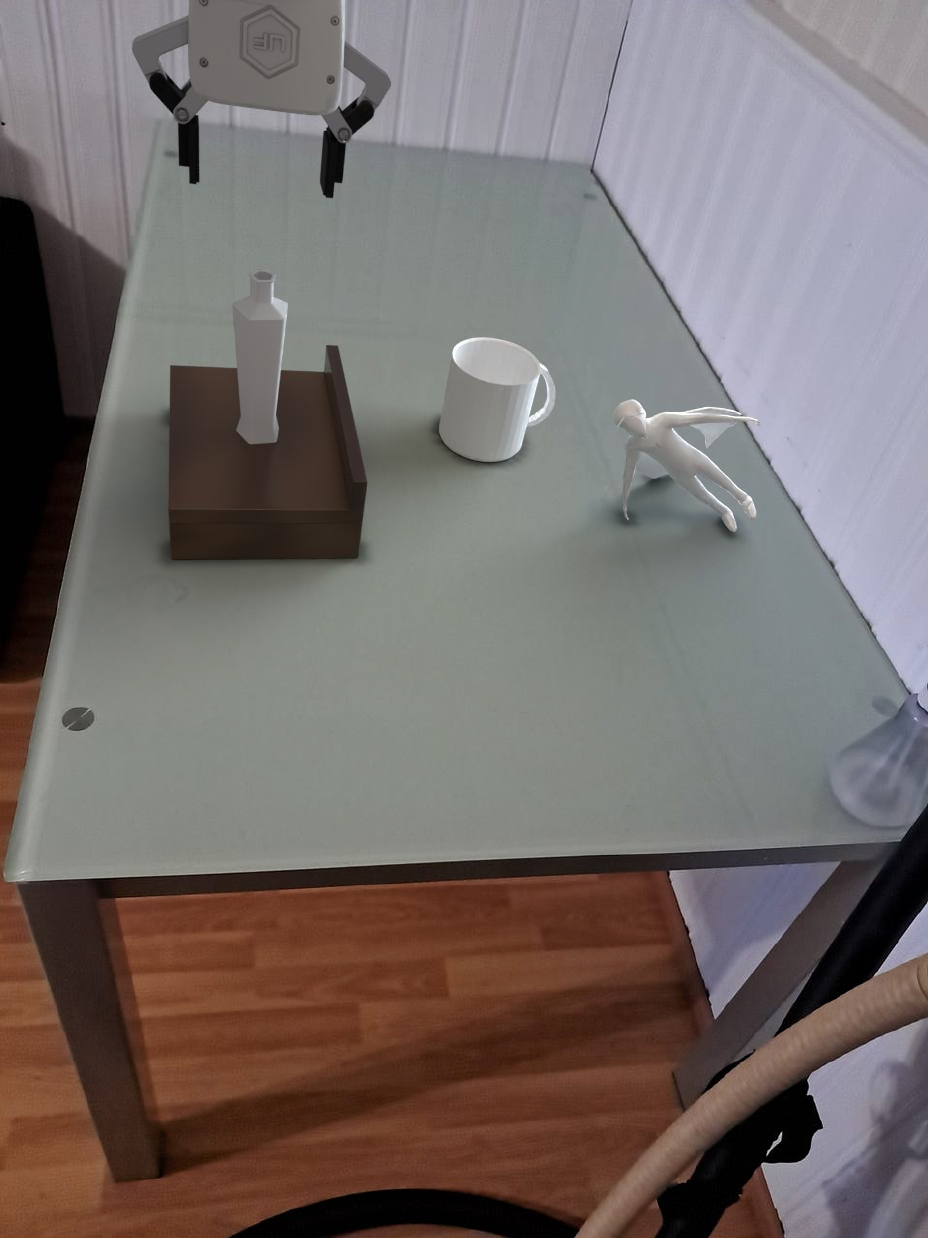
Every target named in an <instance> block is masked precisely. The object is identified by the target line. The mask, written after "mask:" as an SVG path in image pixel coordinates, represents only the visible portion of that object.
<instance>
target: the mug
mask: <svg viewBox="0 0 928 1238" xmlns="http://www.w3.org/2000/svg"><path fill="white" fill-rule="evenodd" d="M540 375H541V376H542V377H543V379H544V380H545V385H546V394H547V396H546V400H545V402H544V406H543V407H542V408H541V409H539V410H538V411H536V412H535V413H534V414H532V415H530V414H531V411H532V407H533V403H534V399H535V395H536V392H537V387H538V384H539V380H540ZM555 404H556V386H555V382H554V380H553V378H552V376H551V373H550V372H549V370H548V368H547V367H546V366H545V365H544V364H542V363H540V361H539V359H538V358H537V357H536V356H535V354H533V353H532V352H530V351H529V350H528V349H526V348H525V347H523V346H521V345H519V344H517V343H515V342H511V341H508V340H505V339H500V338H496V337H495V338H494V337H483V336H482V337H481V336H480V337H472V338H467V339H464V340H462V341H460V342H459V343H457V344H456V345H455V346H454V347H453V350H452V352H451V359H450V365H449V369H448V373H447V381H446V386H445V392H444V397H443V402H442V408H441V414H440V420H439V425H438V433H439V435H440V438H441V441H442V442H443V443H444V445H445V446H446V447H447V448H448V449H449V450H451V451H452V452H454V453H455V454H457V455H460V456H461V457H463V458H466V459H468V460H473V461H476V462H484V463H496V462H502V461H505V460H506V461H507V460H509V459H511V458H512V457H514V456H515V455H516V454H517V453H519V451H520V450H521V448H522V447H523V442H524V438H525V435H526V430H527V428H529V427H530V428H532V427H535V426H536V425H538V424H540V423H542V422H543V421H545V419H546V418H548V417H550V415H551V414H552V412H553V411H552V410H553V408H554V407H555Z"/></svg>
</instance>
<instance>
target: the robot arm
mask: <svg viewBox="0 0 928 1238" xmlns="http://www.w3.org/2000/svg"><path fill="white" fill-rule="evenodd" d="M345 36H346V0H188V15H186V16H183V17H181V18H178V19H176V20H173V21H172V22H171V21H170V22H169V23H166V24H164V25H161V26H160V27H156V28H154V29H152V30H150V31H147V32H144V33H142V34H141V35H137V36H135V38H133V40H132V45H131V51H132V54H133V57H134V58H135V60H136V62H137V64H138V66H139V68H140V70H141V72H142V74H143V76H144V77H145V79H146V81H147V83H148V85H149V89H150V90H151V93H153V94H154V95H155V96H156V97H157V98H158V100H159V101H160V102H161V103H162V104H163V105H164V106H165V107H166V109H167V110H168V111H169V112H170V113H171V114H172V116H173V119H174V120H175V121H176V122H177V141H178V143H177V145H178V146H177V147H178V166H179V167H185V168H188V183H189V185H197V184H198V183H200V118H199V114H198V113H199V111H200V110H201V109H203V107H204V106H205V105H206V104H207V103H208V102H211V103H214V104H219V105H225V106H232V107H240V108H245V109H255V110H263V111H270V112H278V113H286V114H295V115H305V116H314V117H315V116H321V117H322V119H323V121H325V123H326V125H327V127H325V130H323V132H322V144H321V145H322V146H321V156H320V157H321V158H320V159H321V160H320V173H319V184H320V188H321V192H322V195H323V196H325V198H326V199H334V197H335V196H334V195H335V184H343V181H344V170H345V161H346V149H347V143H349V142H350V141H351V140H352V138H353V135H355V134H356V133H357V132H358V131H359V130H361V129H362V128H363V127H364V126H365V125H366V124H368V123H369V122H370V121H371V120H372V119H373V118H374V116H375V112H376V110H377V109H378V107H379V106H380V105H381V103H382V102H383V100H384V99H385V97H386V96H387V94H388V92H389V90H390V89H391V87H392V82H391V79H390V77H389V75H388V73H387V72H386V71H385V70H383V69H382V68H381V67H380V66H378V65H377V64H376V63H374V62H373V61H372V60H371V59H369V58H368V57H367V56H365V55H364V54H363V53H361V51H359V50H358V49H356V48H355V47H354V46H353V45H351V43H348V42H347V41H346V40H345V38H346V37H345ZM186 45H187V63H188V75H189V78H188V79H187V81H186V82H185V83H184V84H183V85H182V86H181V87H179V86H178V85H177V84H176V82H175V81H174V80H173V79H172V78H171V76H169V74H168V73H167V72H166V71H165V70H164V67H163V65H162V62H161V60H160V57H161V56H162V55H164V54H167V53H169V52H171V51H174V50H176V49H180V48H181V47H184V46H186ZM344 69H346V70H347V71H349V72H350V73H351V74H353V75H354V76H355V77H356V78H358V79H359V80H361V81H362V82H363V83H364V87H363V89H362V90H361V93H360V94H359V96H358V97H356V98H355V99H354V100H353V101H352V102H351V103H350V104H348V105H347V106H346V107H345V108H344V109H342V108H341V105H340V103H341V98H342V91H343V80H344V79H343V78H344Z"/></svg>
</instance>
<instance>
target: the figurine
mask: <svg viewBox="0 0 928 1238" xmlns="http://www.w3.org/2000/svg"><path fill="white" fill-rule="evenodd" d="M612 419H613V420H612V421H613V422H614V424H615V425H616V428H615V430H614V432H613V433H612V435H611V436H610V438H609V439H608V441H610V440H611V439H612V438H613V436H614V434H615V433H616V432H617V430H618V428H621V429H623V430H625V431H626V432H627V433H629V434H630V435H629V436H628V438H627V439H626V441H625V445H624V454H625V462H624V469H623V475H622V510H623V516H624V518H625V519H626V520H627V521H630V519H629V515H628V514H627V511H628V510H627V506H628V499H629V496H630V494H631V489H632V486H633V482H634V479H635V472H636V470H638V471H639V472H640V473H641V474H643V475H644V476H645V477H647V478H649V479H652V480H656V479H659V478H662V477H664V476H667V475H669V477H670V478H671V479H672V480H673V481H674V482H675V483H677V484H678V485H679V486H680V487H682V488H683V489H685V490H686V491H687V492H688V493H689V494H691V496H693V497H694V498H695V499H696V500H698V501H700V502H701V503H704V504H705V505H707V506H709V507H710V508H711V509H712V510H714V511H715V512H716V513H717V514H718V516H719V517H720V518H721V519H722V522H723V524H724V525H725V527H726V528H727V529H728V530H729V531H730V532H732V533H735V532H737V530H738V529H737V522H736V518H735V517H734V513H733V511H732V510H731V508H729V507H728V506H726V505H725V504H724V503H723V502H721V501H720V500H718V498H717V497H716V496H715V495H713V493H711V492H710V491H709V490H707V488H706V487H705V486H704V484H703V483H702V482H701V481H700V479H699V478H698V477H697V475H699V476H701V477H702V478H705V479H706V480H708V481H710V482H711V483H713V484H715V485H716V486H717V487H719V488H720V489H722V490H723V491H725V492H727V493H728V494H729V495H730V496H732V497H733V498H734V499H735V500H736V502H738V503H739V505H740V507H741V508H742V510H743V512H744V513H745V514H746V515H747V517H748V519H750V520H755V519H756V517H757V509H756V507H755V504H754V501H753V498H752V497H751V496H750V495H748V494H747V492H745V491H743V490H742V489H741V488H739V487H738V486H737V485H736V484H735V483H734V482H733V481H732V480H731V478H730V477H728V475H726V474H725V473H724V472H723V471H722V470H721V469H720V468H719V467H718V466H717V464H715V462H714V461H712V460H711V459H710V458H709V457H708V456H707V455H706V454H705V453H704V452H702V451H700V450H699V449H698V448H696V447H695V446H693V445H692V444H690V443H689V442H687V441H686V440H685V439H684V438H682V437H681V435H679V434H678V433H677V432H676V430H675V428H676V429H677V428H683V427H689V426H690V427H693V428H694V429H696V430H698V431H699V432H700V433H701V434H702V435H704V444H705V448H706V449H707V448H708V447H710V446H711V445H712V444H713V443H714V442H715V441H717V439H718V438H719V437H720V436H721V435H722V434H723V433H724V432H725V431H726V430H728V429H729V428H731V427H733V426H737V424H738V423H739V422H744V423H751V424H755V425H757V426H760V427H761V424H760V420H758V419H757V418H755V417H750V416H742V412H738V411H737V410H733V409H728V408H723V407H714V406H713V407H712V406H704V407H701V408H696V409H691V410H686V411H681V412H678V411H677V412H674V411H673V412H671V411H664V412H659V413H657V414H655V415H653V416H651V417H647V413H646V410H645V409H644V408H643V406H642V405H641V403H640V402H639V401H637V400H636V399H629V400H625V401H622V402H620V403H619V404H618V406H617V407H616V408H615V411H613V414H612ZM696 474H697V475H696Z"/></svg>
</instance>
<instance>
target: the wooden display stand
mask: <svg viewBox="0 0 928 1238" xmlns="http://www.w3.org/2000/svg"><path fill="white" fill-rule="evenodd" d="M324 353H325V356H324V366H323V367H324V369H323V371H313V370H291V369H288V370H287V369H281V372H280V382H279V391H278V400H277V409H276V418H277V422H278V426H279V432H278V438H277V442H275V443H262V444H249V443H247V442H246V440H245V439H244V438H243V437H242V436H241V435H240V434H239V433H238V432H237V431H236V429H237V426H238V423H239V420H240V417H241V412H240V399H239V386H238V373H237V367H220V366H198V365H177V364H176V365H175V364H170V365H169V417H168V418H169V421H168V422H169V424H168V427H169V429H168V432H169V433H168V502H167V503H168V505H167V507H168V523H169V524H168V526H169V527H168V528H169V545H170V546H169V547H170V559H171V560H248V559H249V560H255V559H256V560H265V559H266V560H267V559H268V560H269V559H273V560H274V559H276V560H277V559H278V560H279V559H283V560H284V559H358V558H359V556H360V555H359V554H360V547H361V537H362V532H363V531H362V530H363V522H364V514H365V507H366V498H367V490H368V478H367V473H366V472H367V471H366V469H365V463H364V459H363V454H362V450H361V445H360V442H359V436H358V431H357V427H356V422H355V418H354V412H353V408H352V404H351V399H350V395H349V389H348V385H347V381H346V376H345V372H344V367H343V362H342V361H343V360H342V357H341V352H340V348H339V345H337V344H334V345H333V344H326V345H325V352H324Z"/></svg>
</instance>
